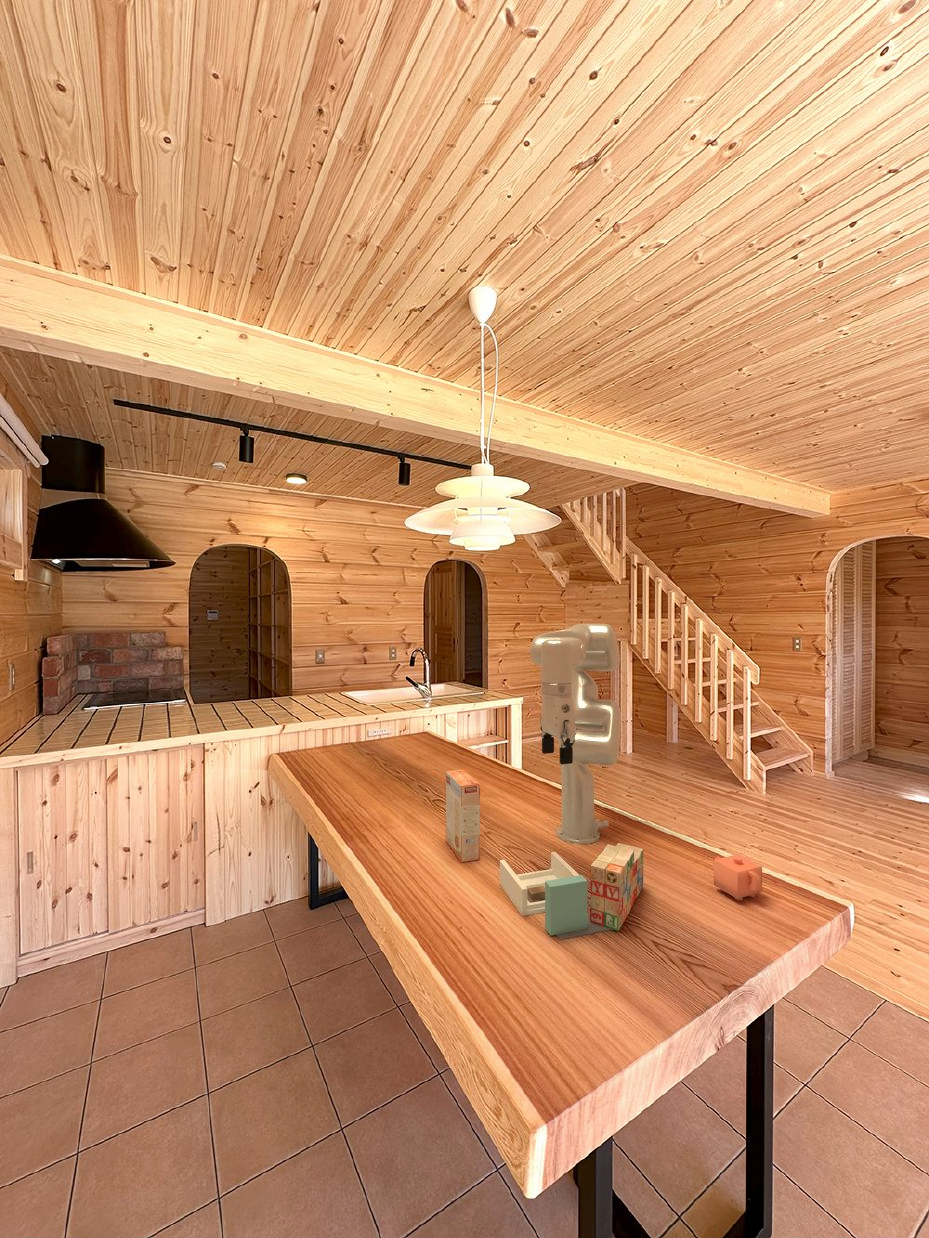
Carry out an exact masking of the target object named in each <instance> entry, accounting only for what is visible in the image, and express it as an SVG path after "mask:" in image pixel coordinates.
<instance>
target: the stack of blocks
mask: <svg viewBox="0 0 929 1238" xmlns="http://www.w3.org/2000/svg"><path fill="white" fill-rule="evenodd" d="M589 887H590V891H589V892H590V906H589V914H590V922H593V923H596V924H599V925H602V926H605V927H608V928H611V929H614V930H615V931H617V932H619V930H620V929H621V927H622V925H623V924H624V923H625V921H626V919H627V918H628V915H629V913H630V912H631V908H632V907H633V905H634V904H635V901H636V899H637V898H638V896H639V895H640V893H641V891H642V889H643V887H644V848H642V847H637V846H633V845H629V844H624V843H620V842H618V843H617V844H616V845H613V844H609V843H608V844H607V845H606V846H605V847H604V849H603V850H602V852H600V854H599V855H598V856H597V857H596V859H595V860H594V861H593V862H592V863H591V864H590V886H589ZM614 930H613V931H614Z"/></svg>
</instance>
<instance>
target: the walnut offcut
mask: <svg viewBox="0 0 929 1238" xmlns="http://www.w3.org/2000/svg"><path fill="white" fill-rule="evenodd" d="M527 900H528V901H529V902H530V903H533V902H538V901H544V900H545V887H544V886H538V887H532V888H527Z"/></svg>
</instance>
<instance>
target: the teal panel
mask: <svg viewBox="0 0 929 1238" xmlns="http://www.w3.org/2000/svg"><path fill="white" fill-rule="evenodd" d="M588 898H589V897H588V880H587V879H586V878H585V877H584V876H583V875H582V874H579V875H578V876H572V877H566V878H560V879H555V880H549V881H545V912H544V913H545V914H544V919H545V920H544V927H545V928H544V929H545V930H546V932H547V933H548V934H549V936H550V937H551V936H557V934H562V933H566V932H571V931H576V930H581V929H586V928H588V914H589V913H588V905H589V904H588V900H589V899H588Z"/></svg>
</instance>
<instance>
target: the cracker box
mask: <svg viewBox="0 0 929 1238" xmlns="http://www.w3.org/2000/svg"><path fill="white" fill-rule="evenodd" d="M445 789H446V791H445V801H446V802H445V817H446V818H445V842H446V844H447V845H448V847H449V848H450V850H451V851H452V852H453V853H454V855H455V856H456V859H458V861H459V862H460V863H467V862H468V861H469V862H474V861H480V859H481V783H479V781H477V780H476V779H475V778H474V777H473V776H472V775H471V774H469V772H467V771H466V770H465V769H455V770H447V771H446V772H445Z"/></svg>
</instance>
